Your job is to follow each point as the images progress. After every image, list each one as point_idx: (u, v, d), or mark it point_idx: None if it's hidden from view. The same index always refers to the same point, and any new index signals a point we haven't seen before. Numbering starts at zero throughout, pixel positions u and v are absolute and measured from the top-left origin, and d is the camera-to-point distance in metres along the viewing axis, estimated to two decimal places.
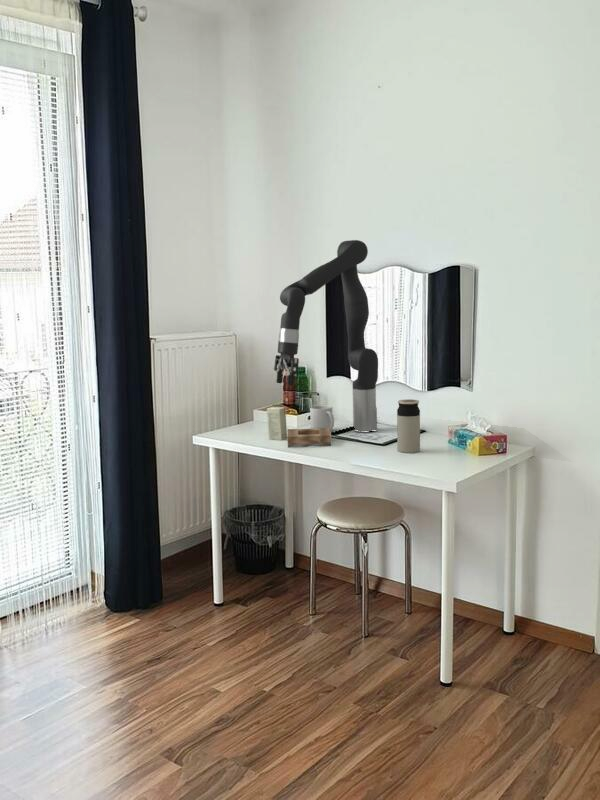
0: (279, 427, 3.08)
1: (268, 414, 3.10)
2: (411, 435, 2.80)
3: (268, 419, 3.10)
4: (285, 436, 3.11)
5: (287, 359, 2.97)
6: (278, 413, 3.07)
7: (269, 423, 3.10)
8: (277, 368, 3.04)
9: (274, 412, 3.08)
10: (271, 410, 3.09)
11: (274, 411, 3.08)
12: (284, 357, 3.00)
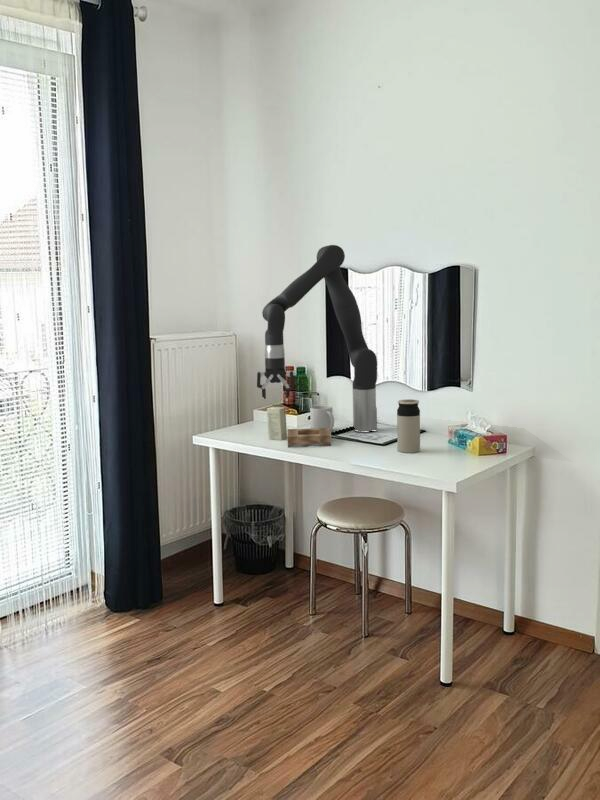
0: (279, 427, 3.08)
1: (268, 414, 3.10)
2: (411, 435, 2.80)
3: (268, 419, 3.10)
4: (285, 436, 3.11)
5: (281, 374, 3.07)
6: (278, 413, 3.07)
7: (269, 423, 3.10)
8: (263, 384, 3.07)
9: (274, 412, 3.08)
10: (271, 410, 3.09)
11: (274, 411, 3.08)
12: (275, 372, 3.07)
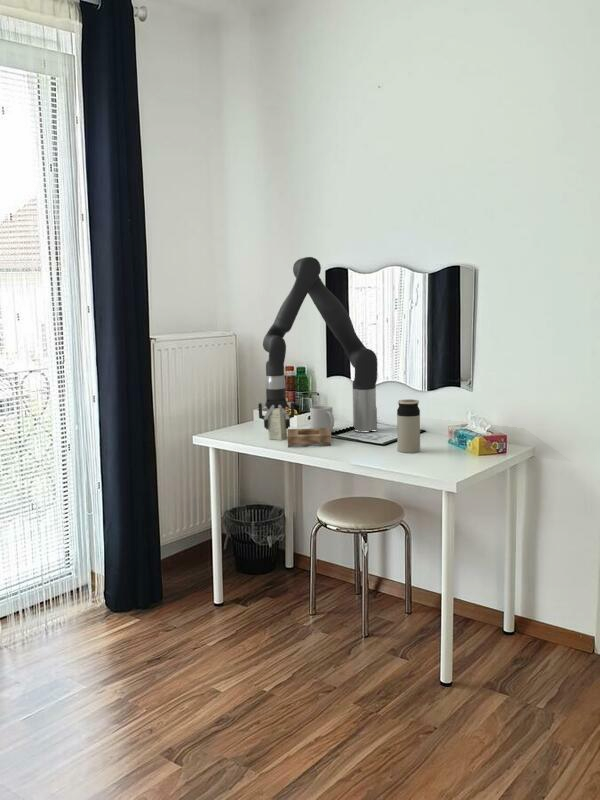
0: (279, 427, 3.08)
1: None
2: (411, 435, 2.80)
3: (268, 419, 3.10)
4: (285, 436, 3.11)
5: (282, 404, 3.09)
6: (278, 413, 3.07)
7: (269, 423, 3.10)
8: (265, 415, 3.09)
9: (274, 412, 3.08)
10: None
11: (274, 411, 3.08)
12: (276, 403, 3.08)
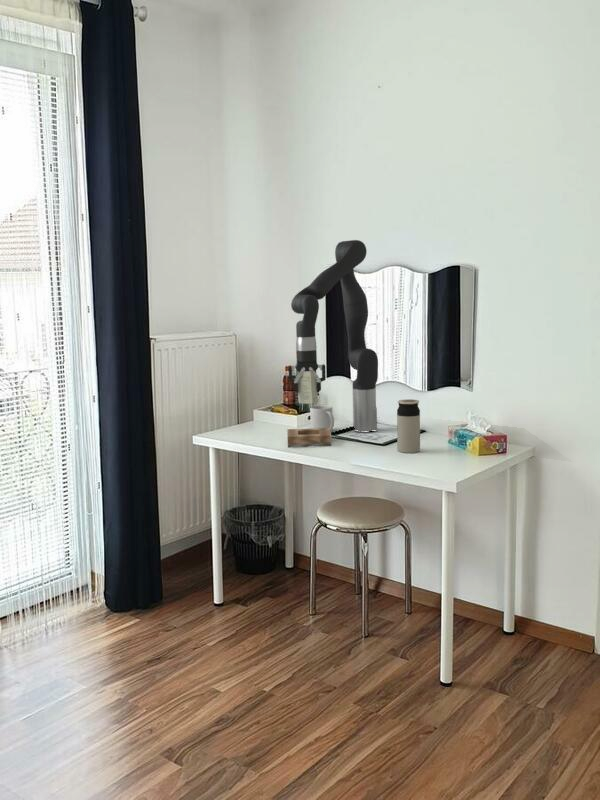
0: (310, 391, 2.97)
1: None
2: (411, 435, 2.80)
3: (298, 382, 2.99)
4: (316, 400, 3.00)
5: (313, 367, 2.97)
6: (309, 376, 2.96)
7: (299, 386, 2.99)
8: (296, 378, 2.98)
9: (305, 375, 2.97)
10: None
11: (305, 374, 2.97)
12: (306, 365, 2.97)
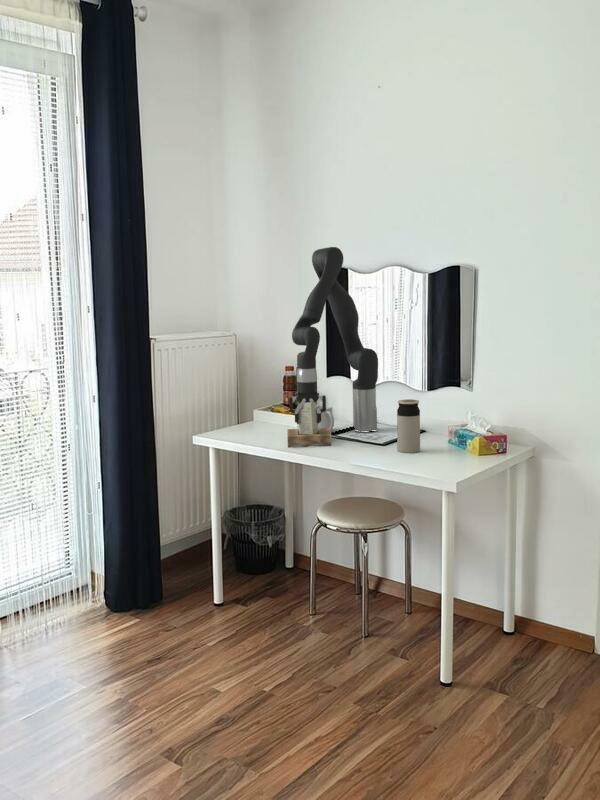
0: (311, 422, 2.99)
1: None
2: (411, 435, 2.80)
3: (299, 413, 3.01)
4: (316, 431, 3.01)
5: (314, 398, 2.99)
6: (309, 407, 2.98)
7: (300, 417, 3.01)
8: (296, 409, 3.00)
9: (305, 406, 2.99)
10: None
11: (305, 405, 2.99)
12: (307, 396, 2.99)
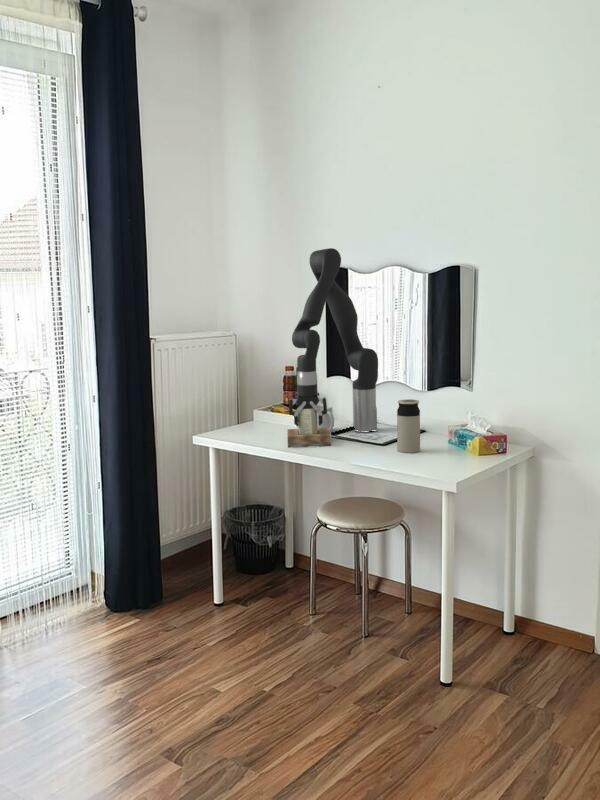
0: (311, 428, 2.99)
1: (299, 415, 3.01)
2: (411, 435, 2.80)
3: (299, 420, 3.01)
4: None
5: (314, 400, 2.99)
6: (309, 414, 2.98)
7: (300, 424, 3.01)
8: (296, 412, 3.00)
9: (305, 413, 2.99)
10: (302, 410, 3.00)
11: (305, 412, 2.99)
12: (307, 399, 2.99)
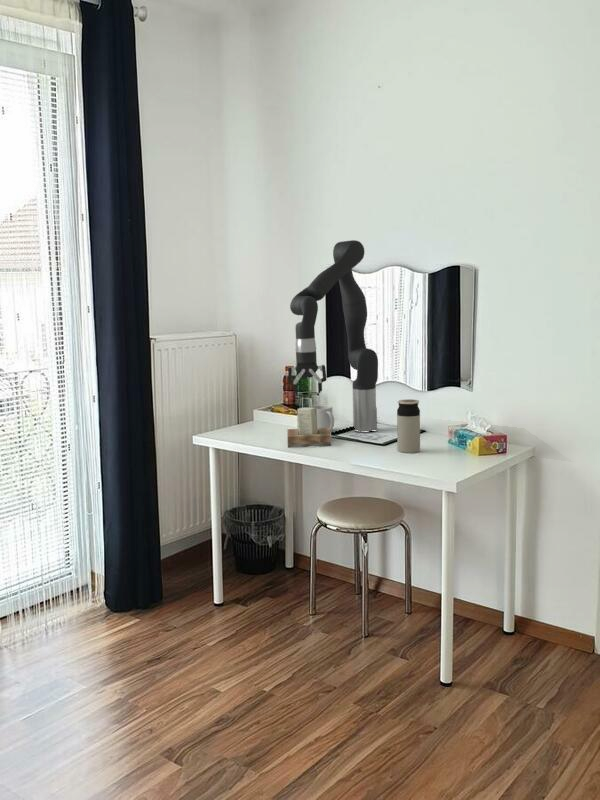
0: (311, 428, 2.99)
1: (299, 415, 3.01)
2: (411, 435, 2.80)
3: (299, 420, 3.01)
4: None
5: (313, 368, 2.97)
6: (309, 414, 2.98)
7: (300, 424, 3.01)
8: (295, 380, 2.98)
9: (305, 413, 2.99)
10: (302, 410, 3.00)
11: (305, 412, 2.99)
12: (306, 367, 2.97)
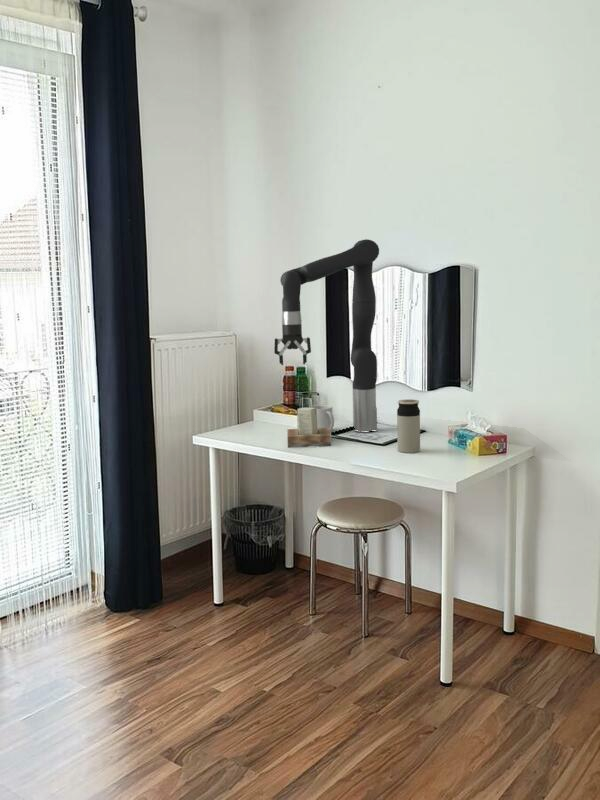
0: (311, 428, 2.99)
1: (299, 415, 3.01)
2: (411, 435, 2.80)
3: (299, 420, 3.01)
4: None
5: (298, 340, 3.11)
6: (309, 414, 2.98)
7: (300, 424, 3.01)
8: (281, 351, 3.11)
9: (305, 413, 2.99)
10: (302, 410, 3.00)
11: (305, 412, 2.99)
12: (292, 339, 3.11)
